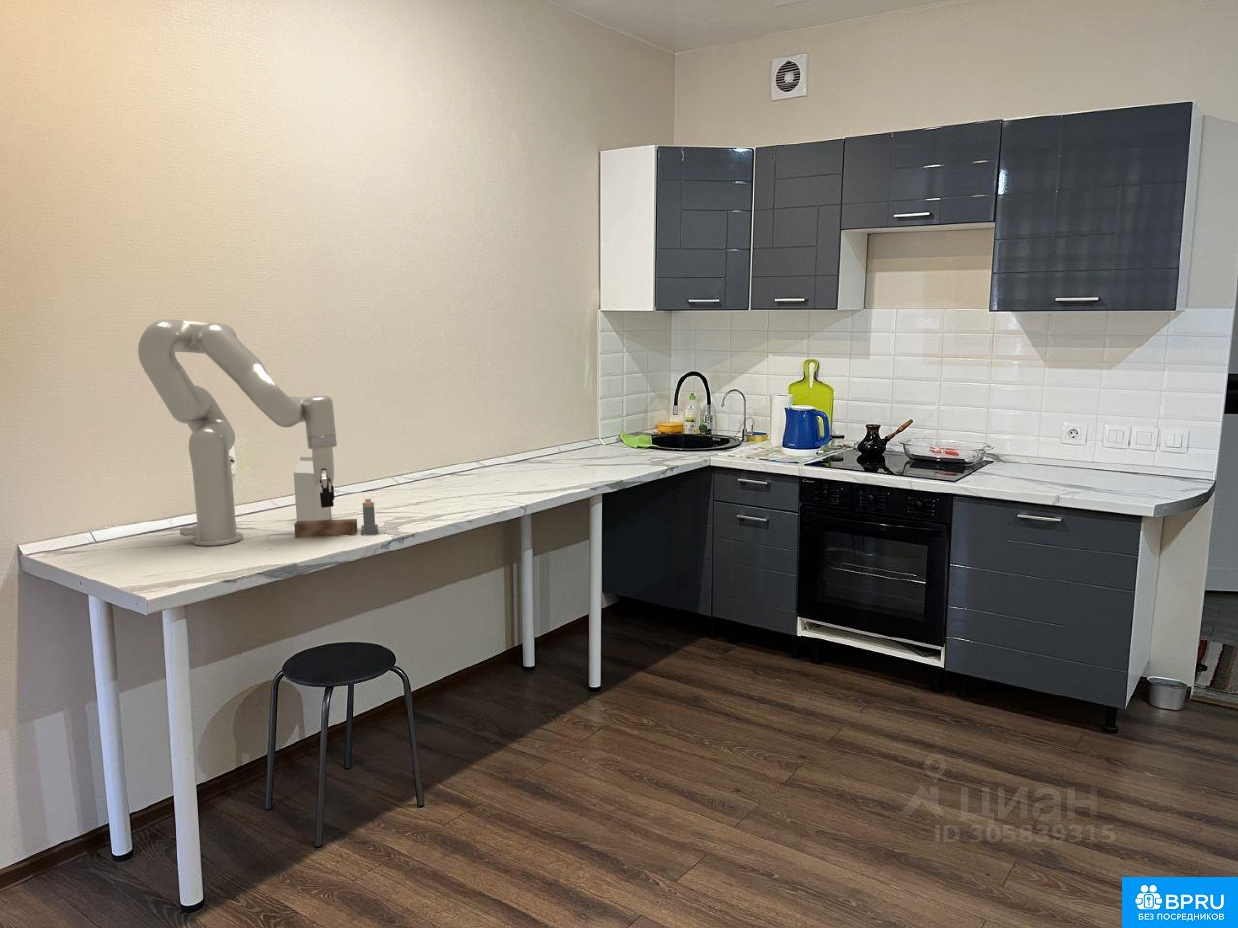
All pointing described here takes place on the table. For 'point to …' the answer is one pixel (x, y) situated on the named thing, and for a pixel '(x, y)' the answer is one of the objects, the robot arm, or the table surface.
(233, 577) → the table surface
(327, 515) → the milk carton
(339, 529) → the walnut rod
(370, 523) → the ridge stand
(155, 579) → the table surface
